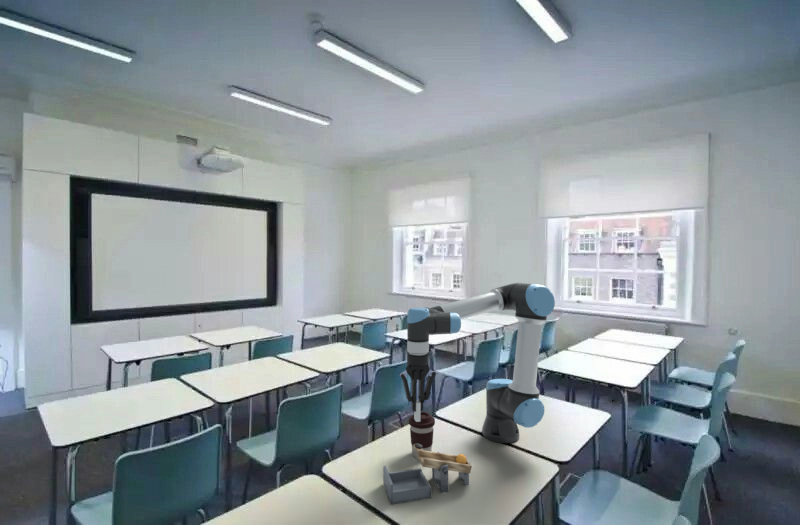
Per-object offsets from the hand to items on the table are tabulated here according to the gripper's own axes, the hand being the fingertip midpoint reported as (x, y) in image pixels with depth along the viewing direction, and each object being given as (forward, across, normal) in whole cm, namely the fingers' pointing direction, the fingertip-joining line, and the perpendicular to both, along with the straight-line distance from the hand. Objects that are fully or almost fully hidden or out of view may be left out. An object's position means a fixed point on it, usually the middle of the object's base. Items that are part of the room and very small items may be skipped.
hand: (417, 420), depth 131 cm
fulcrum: (+18, -5, +9) cm, 21 cm away
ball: (+11, -13, +9) cm, 19 cm away
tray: (+18, +6, +10) cm, 21 cm away
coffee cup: (+18, -5, -11) cm, 22 cm away
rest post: (+18, -14, +9) cm, 24 cm away
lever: (+12, -6, +5) cm, 14 cm away
